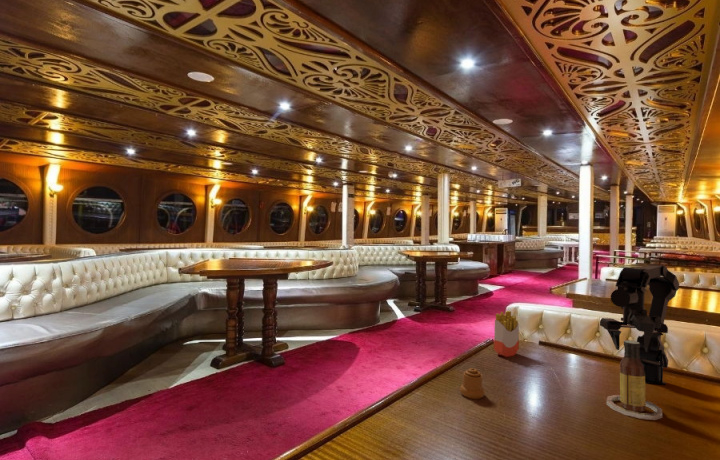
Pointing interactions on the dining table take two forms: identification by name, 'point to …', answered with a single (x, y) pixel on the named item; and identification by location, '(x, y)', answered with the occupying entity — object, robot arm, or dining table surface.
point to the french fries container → (506, 334)
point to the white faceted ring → (631, 413)
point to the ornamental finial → (472, 384)
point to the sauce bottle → (632, 378)
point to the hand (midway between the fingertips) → (632, 350)
